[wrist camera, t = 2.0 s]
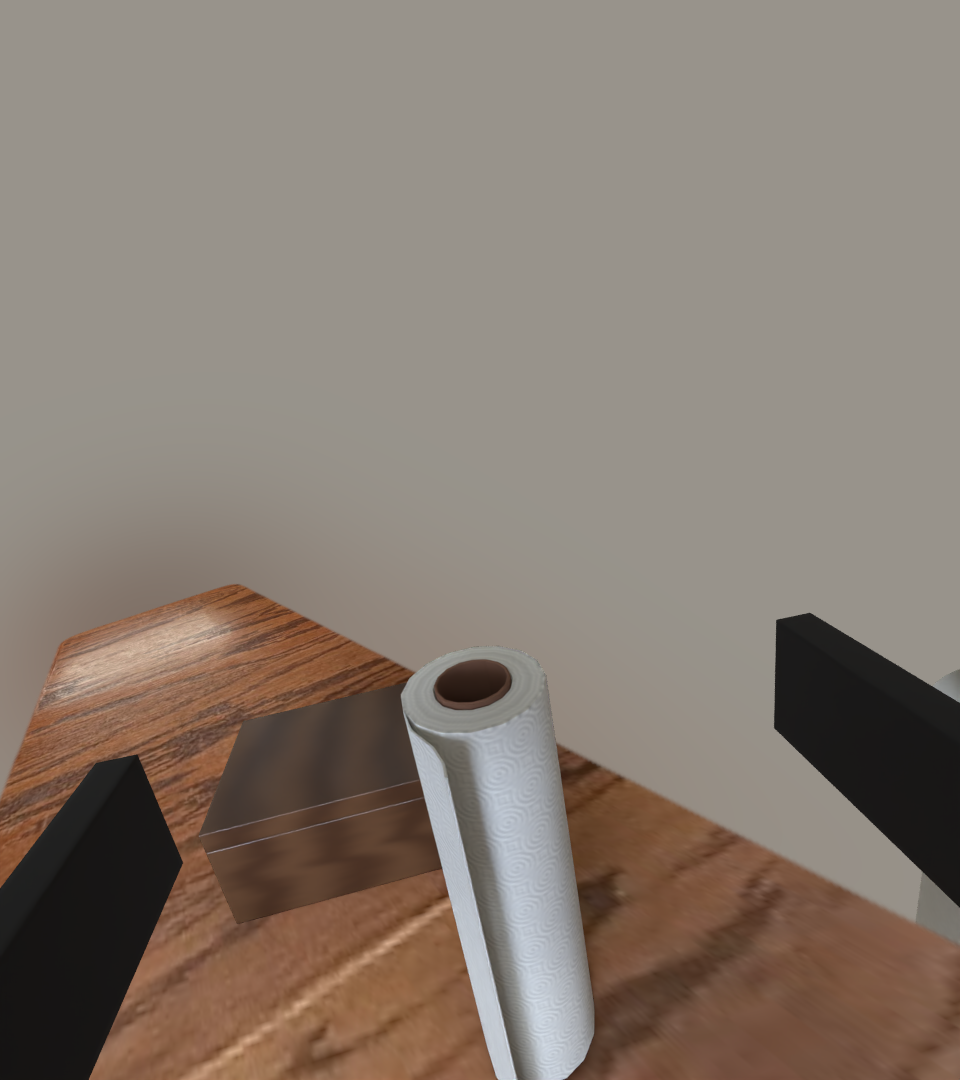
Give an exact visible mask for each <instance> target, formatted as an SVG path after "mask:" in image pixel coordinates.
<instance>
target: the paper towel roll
mask: <svg viewBox="0 0 960 1080" xmlns="http://www.w3.org/2000/svg"><path fill="white" fill-rule="evenodd" d="M401 701H402V707H403V713H404V717H405V721H406V725H407V729H408V733H409V737H410V741H411V745H412V749H413V753H414V757H415V761H416V765H417V769H418V773H419V777H420V781H421V785H422V789H423V793H424V797H425V801H426V805H427V809H428V813H429V817H430V821H431V825H432V829H433V833H434V837H435V841H436V845H437V849H438V853H439V857H440V861H441V865H442V869H443V873H444V877H445V881H446V885H447V889H448V893H449V897H450V901H451V905H452V909H453V913H454V917H455V921H456V925H457V929H458V933H459V937H460V940H461V944H462V948H463V952H464V956H465V960H466V964H467V968H468V972H469V976H470V980H471V984H472V988H473V992H474V996H475V1000H476V1004H477V1008H478V1012H479V1016H480V1020H481V1024H482V1028H483V1032H484V1036H485V1040H486V1044H487V1048H488V1051H489V1054H490V1058H491V1061H492V1064H493V1068H494V1071H495V1074H496V1077H497V1078H498V1080H563V1079H565V1078H567V1077H568V1076H569V1075H570V1074H571V1073H572V1072H573V1071H574V1070H575V1069H576V1068H577V1067H578V1066H579V1065H580V1064H581V1063H582V1062H583V1061H584V1059H585V1056H586V1054H587V1051H588V1049H589V1046H590V1043H591V1041H592V1038H593V1035H594V1002H593V995H592V988H591V981H590V974H589V967H588V960H587V953H586V946H585V940H584V933H583V926H582V919H581V912H580V905H579V898H578V891H577V885H576V878H575V871H574V864H573V857H572V850H571V843H570V836H569V829H568V823H567V816H566V809H565V802H564V795H563V788H562V781H561V774H560V767H559V761H558V754H557V747H556V740H555V734H554V726H553V719H552V713H551V706H550V699H549V692H548V685H547V678H546V675H545V673H544V671H543V669H542V668H541V666H540V664H539V663H538V661H537V660H536V659H534V658H533V657H531V656H529V655H528V654H526V653H524V652H522V651H521V650H516V649H511V648H506V647H501V646H484V647H471V648H467V649H463V650H459V651H455V652H451V653H448V654H446V655H444V656H442V657H439V658H437V659H435V660H433V661H431V662H429V663H427V664H426V665H424V666H423V667H422V668H421V669H420V670H419V671H417V672H416V673H415V674H414V675H413V676H412V677H410V678H409V680H408V682H407V684H406V686H405V688H404V690H403V692H402V694H401Z"/></svg>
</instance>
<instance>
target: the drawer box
mask: <svg viewBox="0 0 960 1080" xmlns="http://www.w3.org/2000/svg"><path fill="white" fill-rule="evenodd" d="M406 684H407V683H403V684H399V685H394V686H390V687H386V688H382V689H378V690H373V691H369V692H365V693H361V694H356V695H352V696H348V697H344V698H340V699H335V700H331V701H327V702H323V703H318V704H314V705H310V706H306V707H302V708H297V709H293V710H289V711H285V712H280V713H276V714H272V715H268V716H264V717H259V718H255V719H251V720H247V721H243V723H242V726H241V728H240V731H239V733H238V736H237V739H236V741H235V744H234V746H233V749H232V751H231V754H230V757H229V759H228V762H227V764H226V767H225V769H224V772H223V775H222V777H221V780H220V782H219V785H218V787H217V790H216V792H215V795H214V798H213V800H212V803H211V805H210V808H209V810H208V813H207V816H206V818H205V821H204V823H203V826H202V828H201V831H200V834H199V838H200V841H201V843H202V845H203V847H204V850H205V852H206V853H207V856H208V859H209V861H210V863H211V865H212V868H213V870H214V872H215V875H216V877H217V879H218V881H219V884H220V886H221V888H222V891H223V893H224V895H225V897H226V900H227V902H228V904H229V907H230V909H231V911H232V913H233V916H234V918H235V920H236V923H237V924H239V923H243V922H246V921H250V920H254V919H257V918H261V917H265V916H268V915H272V914H276V913H279V912H283V911H287V910H290V909H294V908H298V907H301V906H305V905H309V904H312V903H316V902H320V901H323V900H327V899H331V898H334V897H338V896H342V895H345V894H349V893H353V892H356V891H360V890H364V889H367V888H371V887H375V886H378V885H382V884H386V883H389V882H393V881H397V880H400V879H404V878H408V877H411V876H415V875H419V874H422V873H426V872H430V871H433V870H437V869H441V868H442V865H441V861H440V857H439V853H438V849H437V845H436V841H435V837H434V833H433V829H432V825H431V821H430V817H429V813H428V809H427V805H426V801H425V797H424V793H423V789H422V785H421V781H420V777H419V773H418V769H417V765H416V761H415V757H414V753H413V749H412V745H411V741H410V737H409V733H408V729H407V725H406V721H405V717H404V713H403V707H402V701H401V694H402V692H403V690H404V688H405V686H406Z"/></svg>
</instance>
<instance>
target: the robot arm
mask: <svg viewBox="0 0 960 1080" xmlns="http://www.w3.org/2000/svg"><path fill="white" fill-rule="evenodd" d="M775 664H776V665H775V713H774V728H775V729H776V730H777V731H778V732H779V733H780V734H781V735H782V736H783V737H784V738H785V739H786V740H787V741H788V742H789V743H790V744H791V745H792V746H793V747H794V748H795V749H796V750H797V751H798V752H799V753H801V754H802V755H803V756H804V757H805V758H806V759H807V760H808V761H809V762H810V763H811V764H812V765H813V766H814V767H815V768H816V769H817V770H818V771H819V772H820V773H821V774H822V775H823V776H824V777H825V778H826V779H827V780H828V781H829V782H831V784H833V785H834V786H835V787H836V788H837V789H838V790H839V791H840V792H841V793H842V794H843V795H844V796H845V797H846V798H847V799H848V800H849V801H850V802H851V803H852V804H853V805H854V806H855V807H856V808H857V809H858V810H859V811H860V812H862V813H863V814H864V815H865V816H866V817H867V818H868V819H869V820H870V821H871V822H872V823H873V824H874V825H875V826H876V827H877V828H878V829H879V830H880V831H881V832H882V833H883V834H884V835H885V836H886V837H887V838H888V839H889V840H890V841H891V842H892V843H894V844H895V845H896V846H897V847H898V848H899V849H900V850H901V851H902V852H903V853H904V854H905V855H906V856H907V857H908V858H909V859H910V860H911V861H912V862H913V863H914V864H915V865H916V866H917V867H918V868H919V869H921V870H922V872H923V873H925V874H926V875H927V876H928V877H929V878H930V879H931V880H932V881H933V882H934V883H935V884H936V885H937V886H938V887H939V888H940V889H941V890H942V891H943V892H944V893H945V894H946V895H947V896H948V897H949V898H950V899H951V900H952V901H953V902H954V903H956V904H957V905H958V906H959V907H960V703H959V702H957V701H956V700H954V699H952V698H951V697H949V696H947V695H946V694H944V693H942V692H941V691H939V690H937V689H936V688H934V687H932V686H931V685H929V684H927V683H925V682H924V681H922V680H921V679H919V678H917V677H916V676H914V675H912V674H911V673H909V672H907V671H906V670H904V669H902V668H901V667H899V666H897V665H896V664H894V663H892V662H891V661H889V660H887V659H886V658H884V657H883V656H881V655H879V654H878V653H876V652H874V651H872V650H871V649H869V648H868V647H866V646H864V645H863V644H861V643H859V642H858V641H856V640H854V639H853V638H851V637H849V636H848V635H846V634H844V633H843V632H841V631H839V630H838V629H836V628H834V627H833V626H831V625H829V624H828V623H826V622H824V621H823V620H821V619H819V618H818V617H816V616H814V615H813V614H811V613H807V614H802V615H798V616H793V617H788V618H783V619H778V620H776V663H775ZM182 864H183V861H182V859H181V857H180V854H179V852H178V850H177V847H176V845H175V843H174V840H173V838H172V835H171V833H170V831H169V828H168V826H167V824H166V821H165V819H164V816H163V814H162V812H161V809H160V807H159V805H158V802H157V800H156V798H155V795H154V793H153V790H152V788H151V786H150V783H149V781H148V779H147V776H146V774H145V771H144V769H143V767H142V764H141V762H140V760H139V757H138V755H132V756H127V757H123V758H118V759H113V760H108V761H104V762H99V763H96V764H95V765H94V766H93V768H92V769H91V770H90V772H89V773H88V774H87V775H86V777H85V778H84V779H83V781H82V782H81V783H80V785H79V786H78V787H77V789H76V790H75V791H74V793H73V794H72V795H71V796H70V798H69V799H68V800H67V802H66V803H65V804H64V806H63V807H62V808H61V810H60V811H59V812H58V813H57V815H56V816H55V817H54V819H53V820H52V821H51V823H50V824H49V825H48V827H47V828H46V829H45V830H44V832H43V833H42V834H41V836H40V837H39V838H38V840H37V841H36V842H35V844H34V845H33V846H32V847H31V849H30V850H29V851H28V853H27V854H26V855H25V857H24V858H23V859H22V861H21V862H20V863H19V865H18V866H17V867H16V868H15V870H14V871H13V872H12V874H11V875H10V876H9V878H8V879H7V880H6V882H5V883H4V884H3V885H2V887H1V888H0V1080H89V1077H90V1075H91V1073H92V1071H93V1068H94V1066H95V1064H96V1061H97V1059H98V1057H99V1054H100V1052H101V1050H102V1048H103V1045H104V1043H105V1041H106V1038H107V1036H108V1034H109V1032H110V1029H111V1027H112V1025H113V1022H114V1020H115V1018H116V1015H117V1013H118V1011H119V1009H120V1006H121V1004H122V1002H123V999H124V997H125V995H126V992H127V990H128V988H129V986H130V983H131V981H132V979H133V976H134V974H135V972H136V970H137V967H138V965H139V963H140V960H141V958H142V956H143V953H144V951H145V949H146V947H147V944H148V942H149V940H150V937H151V935H152V933H153V930H154V928H155V926H156V924H157V921H158V919H159V917H160V914H161V912H162V910H163V908H164V905H165V903H166V901H167V898H168V896H169V894H170V891H171V889H172V887H173V885H174V882H175V880H176V878H177V875H178V873H179V871H180V869H181V866H182Z"/></svg>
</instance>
